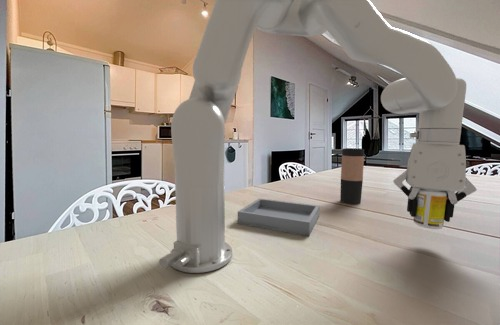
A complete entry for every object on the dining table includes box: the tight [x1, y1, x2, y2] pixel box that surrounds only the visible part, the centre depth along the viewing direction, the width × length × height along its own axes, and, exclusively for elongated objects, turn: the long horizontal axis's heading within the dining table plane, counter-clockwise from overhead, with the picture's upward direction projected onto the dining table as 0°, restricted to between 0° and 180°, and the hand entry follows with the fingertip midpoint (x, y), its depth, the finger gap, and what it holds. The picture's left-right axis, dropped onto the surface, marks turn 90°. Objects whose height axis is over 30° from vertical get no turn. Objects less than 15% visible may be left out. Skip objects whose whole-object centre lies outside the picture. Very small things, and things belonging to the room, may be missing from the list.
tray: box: [237, 198, 321, 237], centre depth 72 cm, size 16×20×4 cm
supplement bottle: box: [413, 188, 447, 230], centre depth 55 cm, size 6×6×10 cm
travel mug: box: [339, 147, 365, 205], centre depth 92 cm, size 8×8×20 cm
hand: (428, 216), depth 56 cm, fingers closed on supplement bottle, 5 cm apart
